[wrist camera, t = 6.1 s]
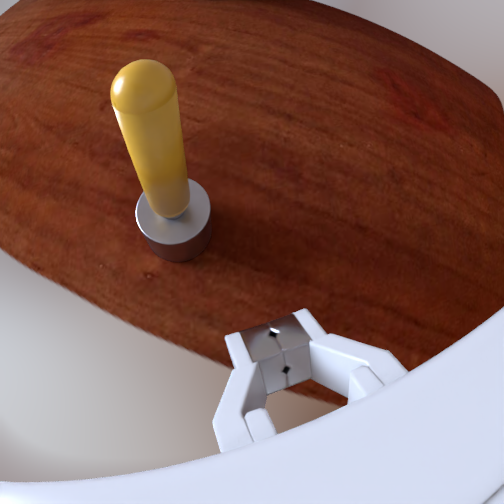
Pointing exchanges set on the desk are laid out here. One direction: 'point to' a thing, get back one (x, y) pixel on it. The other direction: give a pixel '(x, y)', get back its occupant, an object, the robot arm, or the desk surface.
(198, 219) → the yellow lever knob
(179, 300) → the desk surface
